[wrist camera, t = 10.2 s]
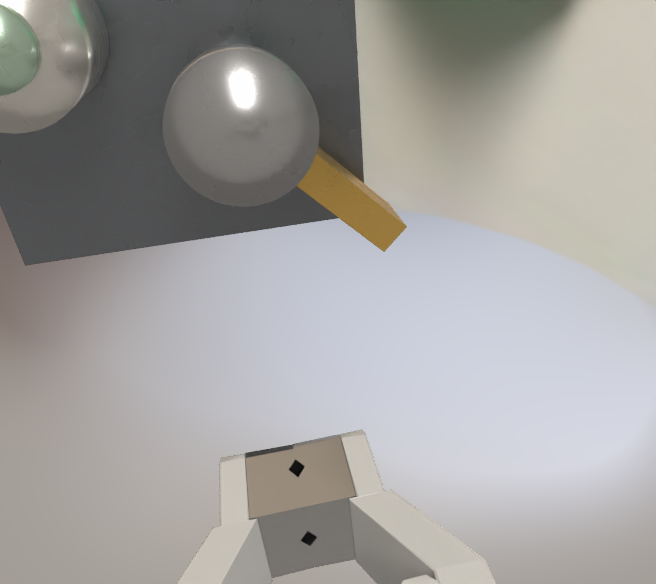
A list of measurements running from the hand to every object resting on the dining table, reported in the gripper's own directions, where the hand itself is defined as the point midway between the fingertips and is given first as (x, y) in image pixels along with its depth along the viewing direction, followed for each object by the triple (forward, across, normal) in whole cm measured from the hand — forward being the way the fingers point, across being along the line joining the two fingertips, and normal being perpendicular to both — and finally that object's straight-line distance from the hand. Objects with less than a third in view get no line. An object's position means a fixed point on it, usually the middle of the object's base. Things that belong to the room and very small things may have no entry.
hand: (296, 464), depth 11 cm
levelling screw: (+19, -2, -2) cm, 19 cm away
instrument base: (+22, +3, -4) cm, 22 cm away
